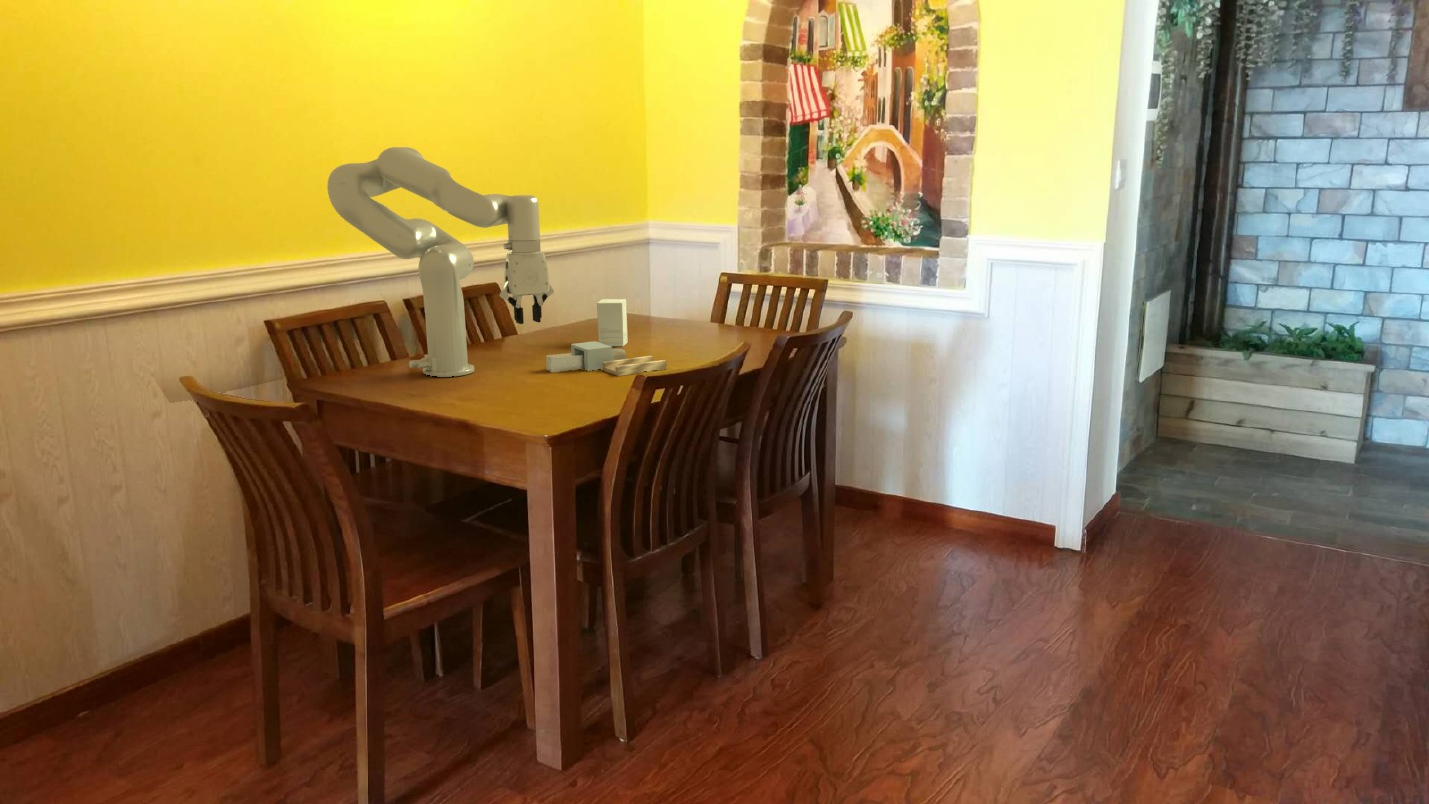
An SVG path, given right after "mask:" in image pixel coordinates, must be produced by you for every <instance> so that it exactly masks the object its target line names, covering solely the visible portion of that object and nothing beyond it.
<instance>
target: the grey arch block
mask: <svg viewBox="0 0 1429 804" xmlns="http://www.w3.org/2000/svg"><path fill="white" fill-rule="evenodd" d="M612 349H613V346H608V345H605V344H602V343H599V341H587V342H577V343H576V342H575V343H571V344H570V353H577V352H584V367H585V369H584V370H585V371H586V370H587V371H586V372H592V370H594V371H599V370H598V369H601V370H603V362H607V361H613V358H612Z"/></svg>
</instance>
